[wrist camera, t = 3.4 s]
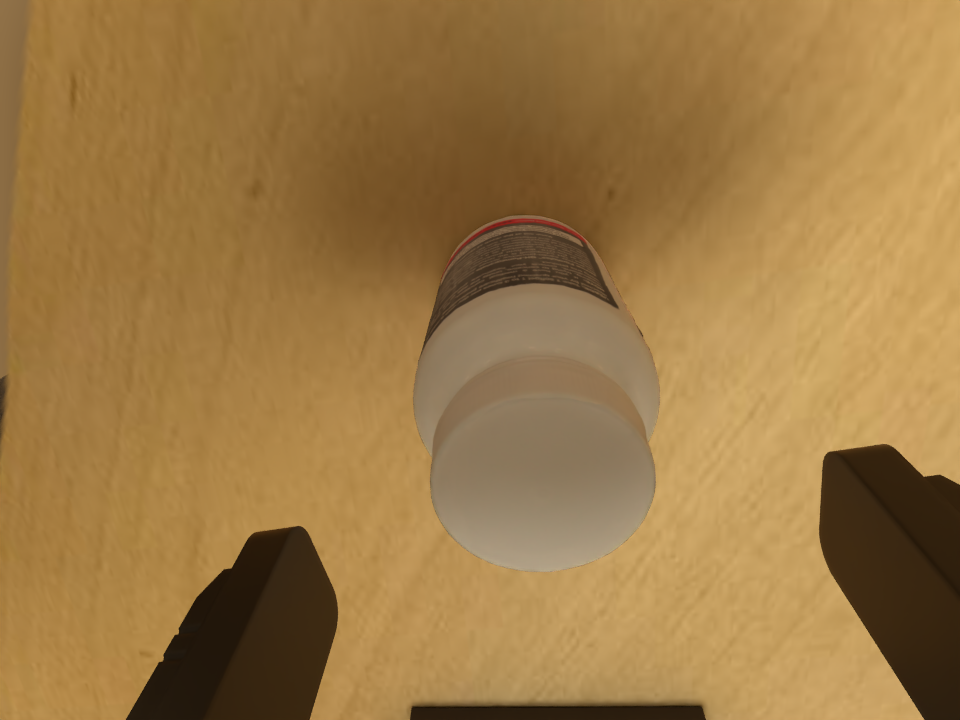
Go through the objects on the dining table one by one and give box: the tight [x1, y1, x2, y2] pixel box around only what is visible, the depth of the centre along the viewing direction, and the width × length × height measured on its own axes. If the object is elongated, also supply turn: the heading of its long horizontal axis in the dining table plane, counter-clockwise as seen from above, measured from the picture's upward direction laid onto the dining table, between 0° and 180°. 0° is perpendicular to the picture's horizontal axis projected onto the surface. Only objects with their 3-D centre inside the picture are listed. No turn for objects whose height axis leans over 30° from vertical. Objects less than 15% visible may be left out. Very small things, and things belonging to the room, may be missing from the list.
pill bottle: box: [413, 215, 660, 572], centre depth 14 cm, size 5×5×10 cm
